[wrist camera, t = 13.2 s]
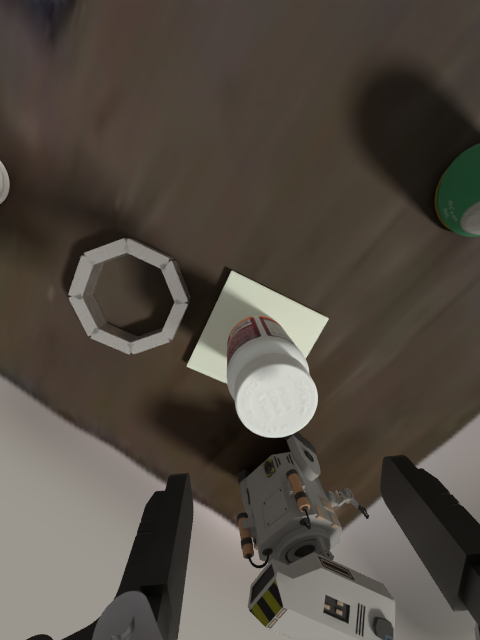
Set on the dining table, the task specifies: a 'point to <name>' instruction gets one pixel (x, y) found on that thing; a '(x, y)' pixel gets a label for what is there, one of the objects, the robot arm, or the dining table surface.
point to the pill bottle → (269, 378)
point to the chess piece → (3, 183)
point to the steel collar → (90, 308)
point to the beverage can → (461, 194)
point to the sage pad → (243, 302)
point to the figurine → (305, 554)
